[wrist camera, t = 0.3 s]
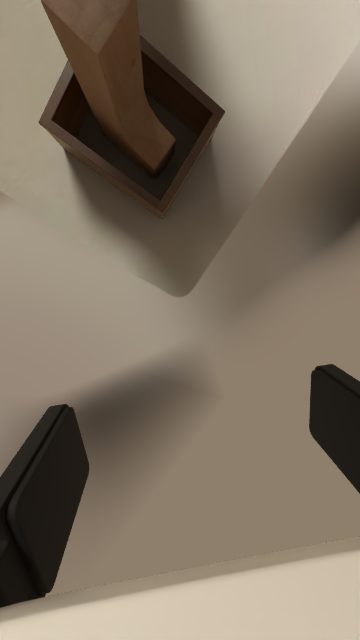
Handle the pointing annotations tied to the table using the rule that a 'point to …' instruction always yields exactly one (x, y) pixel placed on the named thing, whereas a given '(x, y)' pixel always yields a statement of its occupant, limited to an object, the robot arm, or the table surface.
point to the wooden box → (161, 84)
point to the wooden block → (112, 75)
